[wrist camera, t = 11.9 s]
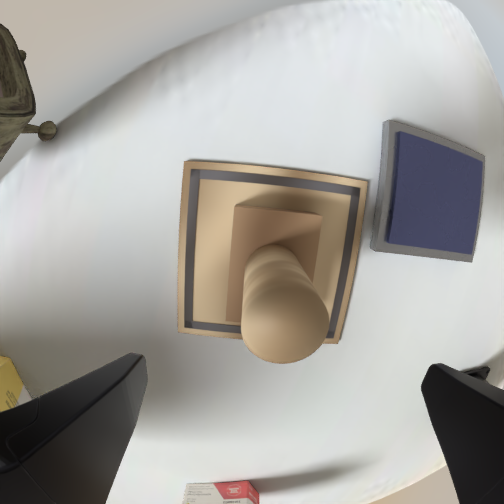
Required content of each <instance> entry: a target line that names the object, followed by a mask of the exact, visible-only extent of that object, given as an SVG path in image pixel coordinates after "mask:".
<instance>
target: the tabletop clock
mask: <svg viewBox="0 0 504 504" xmlns="http://www.w3.org/2000/svg"><path fill="white" fill-rule="evenodd" d="M25 59H26V53H25V51H23V50H19V49H18V47H17V44H16V42H15V40H14V38H13V36H12V35H11V33H10V32H9V30H8V29H7V28H6V27H4V26H3V25H2V24H0V162H1V160H2V159H3V157H4V155H5V154H6V153H7V151H8V150H9V148H10V147H11V145H12V144H13V143H14V141H15V140H16V138H17V137H18V136H19V134H20V133H38V137H39V138H40V139H41V140H42V141H48V140H51V139H52V138H53V137H54V136H55V134H56V125H55V124H54V123H53V122H52V121H46V122H44V123H42V124H41V125H40V127H39V126H35V125H31V124H28V123H29V121H30V120H31V119H32V118H33V117H34V115H35V114H36V103H35V98H34V94H33V91H32V87H31V84H30V81H29V77H28V74H27V70H26V67H25V65H24V61H25Z"/></svg>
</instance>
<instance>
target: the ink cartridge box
mask: <svg viewBox="0 0 504 504" xmlns="http://www.w3.org/2000/svg"><path fill="white" fill-rule="evenodd" d="M182 504H259V494H258V492H257V491H256V490H255V489H254V488H253V486H252V485H251V484H250V482H249V481H247V480H246V481H238V482H226V483H205V484H186V488H185V493H184V498H183V503H182Z"/></svg>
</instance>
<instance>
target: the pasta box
mask: <svg viewBox="0 0 504 504" xmlns="http://www.w3.org/2000/svg"><path fill="white" fill-rule="evenodd" d="M30 400H32V398H31V397H30V395H29V393H28V391H27V390H26V388H25V386H24V384H23V382H22V380H21V379H20V377H19V375H18V373H17V371H16V369H15V367H14V365H13V363H12V361H11V359H10V358H8V357H3V356H0V412H2V411H5V410H8V409H11V408H14V407H16V406H18V405H21V404H23V403H26V402H28V401H30Z"/></svg>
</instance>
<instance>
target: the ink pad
mask: <svg viewBox="0 0 504 504" xmlns="http://www.w3.org/2000/svg"><path fill="white" fill-rule="evenodd" d="M484 169H485V156H484V155H482V154H479V153H477V152H475V151H473V150H471V149H468V148H466V147H464V146H462V145H459V144H457V143H454V142H452V141H449V140H447V139H444V138H442V137H439V136H437V135H434V134H431V133H428V132H426V131H423V130H420V129H417V128H414V127H411V126H408V125H405V124H402V123H398V122H395V121H392V120H387V121H385V122H383V133H382V151H381V164H380V176H379V186H378V195H377V203H376V211H375V218H374V225H373V232H372V238H371V244H370V248H371V249H372V250H374V251H377V252H386V253H395V254H404V255H413V256H422V257H430V258H439V259H447V260H456V261H464V262H472V260H473V256H474V251H475V246H476V240H477V235H478V228H479V222H480V215H481V207H482V197H483V186H484Z"/></svg>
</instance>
